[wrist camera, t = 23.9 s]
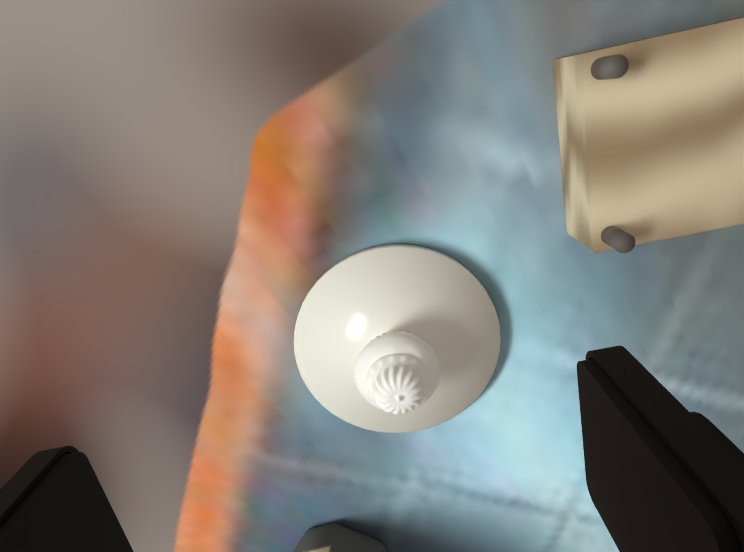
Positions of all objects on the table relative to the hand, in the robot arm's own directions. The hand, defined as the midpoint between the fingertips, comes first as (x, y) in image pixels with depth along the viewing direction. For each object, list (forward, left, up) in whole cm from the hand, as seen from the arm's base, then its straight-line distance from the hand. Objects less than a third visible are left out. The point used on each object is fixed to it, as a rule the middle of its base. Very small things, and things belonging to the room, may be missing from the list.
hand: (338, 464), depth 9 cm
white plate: (-12, 0, -28) cm, 31 cm away
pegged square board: (0, -20, -28) cm, 35 cm away
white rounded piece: (-12, 0, -27) cm, 30 cm away
